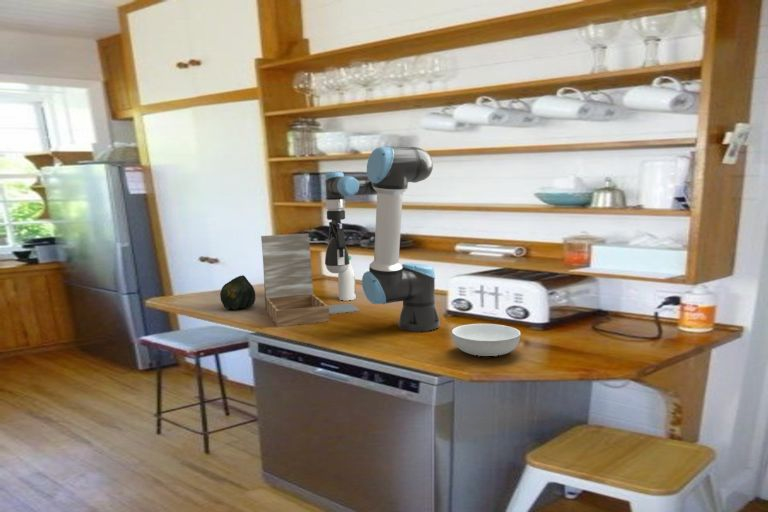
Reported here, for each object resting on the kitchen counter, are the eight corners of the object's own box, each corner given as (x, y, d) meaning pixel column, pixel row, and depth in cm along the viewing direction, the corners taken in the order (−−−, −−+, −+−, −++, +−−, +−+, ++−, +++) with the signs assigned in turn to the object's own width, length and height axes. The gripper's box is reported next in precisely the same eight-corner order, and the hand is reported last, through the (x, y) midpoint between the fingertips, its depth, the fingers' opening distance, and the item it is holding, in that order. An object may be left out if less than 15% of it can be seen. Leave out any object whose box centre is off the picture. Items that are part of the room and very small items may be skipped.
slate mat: (360, 311, 232) (360, 309, 232) (327, 314, 227) (327, 313, 227) (350, 304, 245) (350, 303, 245) (318, 307, 240) (318, 306, 240)
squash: (207, 298, 238) (227, 272, 234) (227, 292, 252) (246, 268, 248) (230, 321, 236) (250, 296, 232) (249, 314, 250) (268, 290, 246)
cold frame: (329, 321, 216) (326, 239, 212) (277, 327, 209) (273, 242, 205) (310, 305, 246) (307, 233, 241) (264, 309, 239) (260, 235, 234)
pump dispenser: (349, 274, 229) (348, 237, 226) (323, 274, 229) (322, 237, 227) (351, 270, 239) (350, 234, 237) (326, 270, 239) (325, 235, 237)
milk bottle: (353, 301, 251) (351, 257, 248) (336, 301, 253) (335, 257, 250) (357, 297, 259) (356, 255, 256) (341, 297, 260) (340, 254, 257)
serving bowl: (532, 351, 174) (533, 329, 173) (497, 368, 158) (497, 344, 157) (475, 339, 187) (475, 319, 186) (438, 354, 172) (438, 332, 171)
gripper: (352, 210, 221) (354, 266, 224) (337, 208, 242) (338, 259, 245) (334, 211, 218) (336, 267, 221) (320, 209, 240) (322, 260, 243)
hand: (337, 263), depth 233 cm, fingers closed on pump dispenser, 10 cm apart
